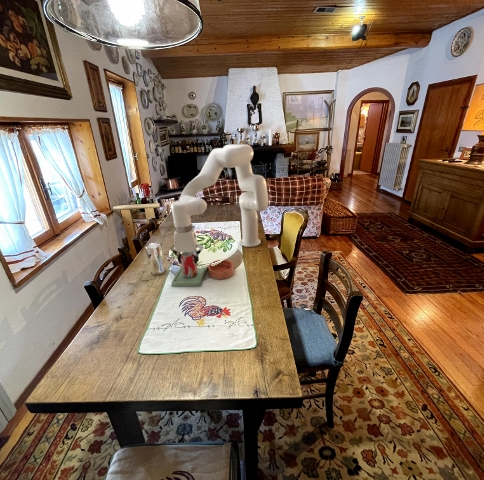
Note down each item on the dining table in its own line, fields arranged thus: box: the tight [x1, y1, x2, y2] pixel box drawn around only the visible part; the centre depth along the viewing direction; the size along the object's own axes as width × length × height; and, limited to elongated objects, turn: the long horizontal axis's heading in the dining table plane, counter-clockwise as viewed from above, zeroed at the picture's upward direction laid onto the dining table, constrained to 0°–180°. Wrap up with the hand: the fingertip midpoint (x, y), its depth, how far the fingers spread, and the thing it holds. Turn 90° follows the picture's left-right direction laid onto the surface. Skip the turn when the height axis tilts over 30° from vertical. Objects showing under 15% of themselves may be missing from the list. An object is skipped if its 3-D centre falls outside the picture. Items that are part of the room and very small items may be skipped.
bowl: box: [207, 259, 235, 280], centre depth 125 cm, size 12×12×4 cm
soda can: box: [180, 252, 198, 278], centre depth 122 cm, size 7×7×12 cm
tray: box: [171, 265, 208, 287], centre depth 124 cm, size 17×13×2 cm
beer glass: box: [145, 242, 165, 276], centre depth 127 cm, size 7×7×15 cm
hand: (188, 262), depth 122 cm, fingers closed on soda can, 7 cm apart
